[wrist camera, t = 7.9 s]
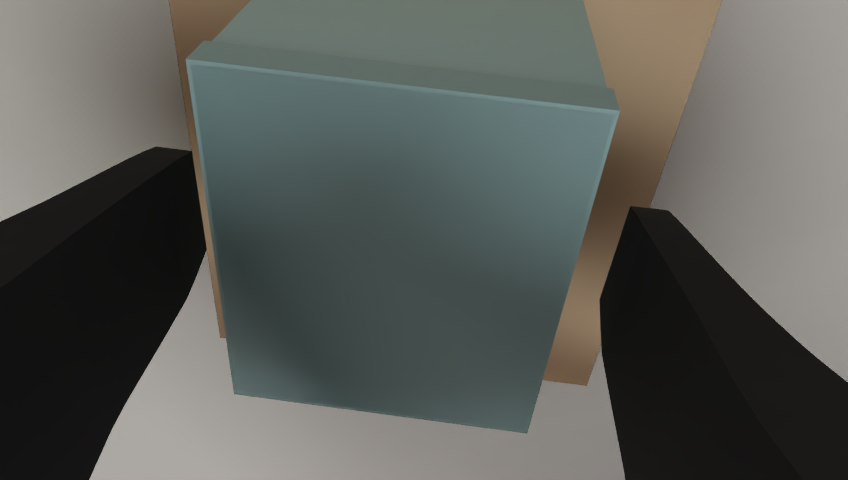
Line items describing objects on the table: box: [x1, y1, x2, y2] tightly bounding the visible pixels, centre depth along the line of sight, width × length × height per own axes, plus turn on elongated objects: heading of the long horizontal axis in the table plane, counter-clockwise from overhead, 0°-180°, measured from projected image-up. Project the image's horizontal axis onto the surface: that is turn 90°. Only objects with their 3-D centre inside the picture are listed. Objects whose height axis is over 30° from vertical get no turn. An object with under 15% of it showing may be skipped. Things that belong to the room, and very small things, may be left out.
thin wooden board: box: [169, 0, 722, 386], centre depth 14 cm, size 14×10×1 cm
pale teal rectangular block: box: [186, 0, 620, 433], centre depth 12 cm, size 6×5×5 cm
